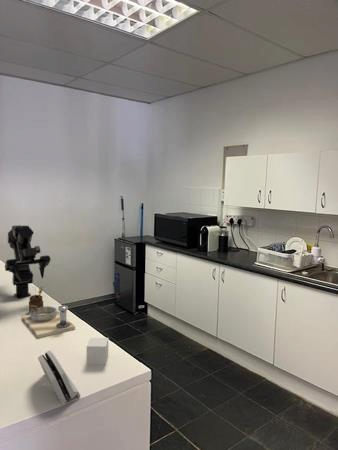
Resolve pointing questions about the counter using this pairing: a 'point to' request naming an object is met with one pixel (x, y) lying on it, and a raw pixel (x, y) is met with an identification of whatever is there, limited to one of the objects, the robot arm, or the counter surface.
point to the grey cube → (97, 351)
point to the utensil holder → (36, 300)
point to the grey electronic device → (57, 377)
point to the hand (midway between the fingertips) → (32, 279)
